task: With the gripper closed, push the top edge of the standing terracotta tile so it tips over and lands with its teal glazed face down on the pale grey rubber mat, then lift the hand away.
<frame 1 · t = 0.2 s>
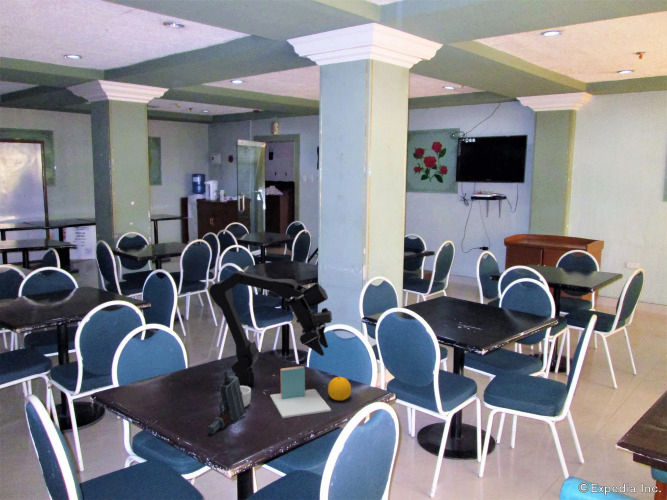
hand: (325, 351, 189), 14 cm above the table, tool tilted 30°, fingers open, 9 cm apart
teacup: (237, 407, 177), on the table
gun: (227, 425, 165), on the table
tile: (292, 396, 184), point 1 cm above the table, touching mat
orange: (339, 399, 184), on the table
mat: (299, 403, 180), on the table
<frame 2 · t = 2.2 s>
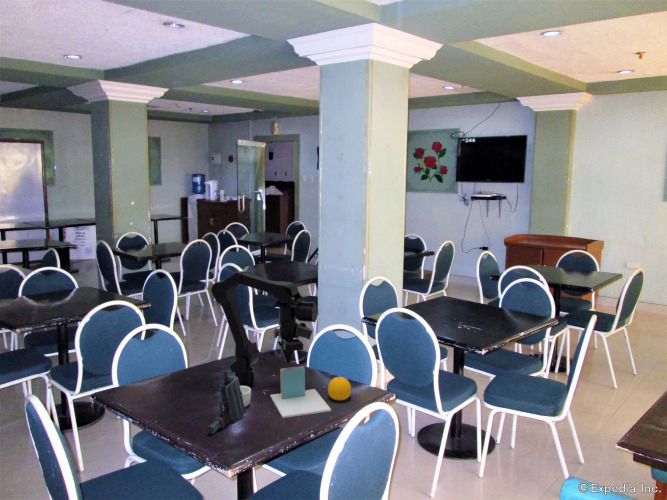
hand: (288, 363, 189), 10 cm above the table, tool pointing down, fingers closed
nothing on the table moved.
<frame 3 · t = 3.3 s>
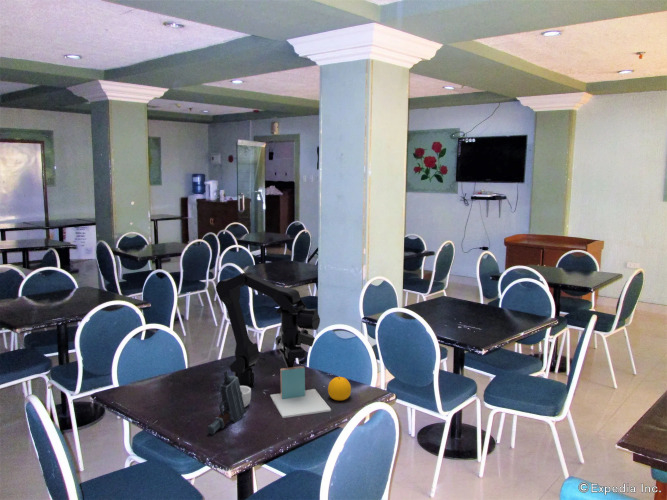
hand: (290, 370, 187), 9 cm above the table, tool pointing down, fingers closed
nothing on the table moved.
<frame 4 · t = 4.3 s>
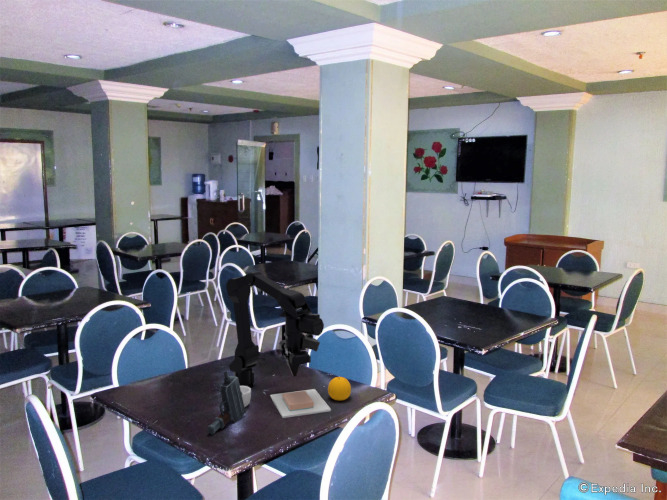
hand: (294, 376, 181), 9 cm above the table, tool pointing down, fingers closed
tile: (293, 395, 183), point 2 cm above the table, tilted 90°, touching mat
everything else where it was.
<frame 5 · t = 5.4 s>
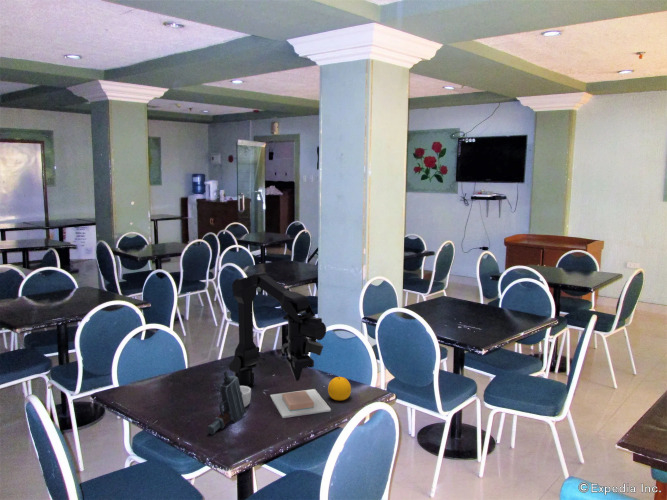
hand: (297, 380, 178), 9 cm above the table, tool pointing down, fingers closed
nothing on the table moved.
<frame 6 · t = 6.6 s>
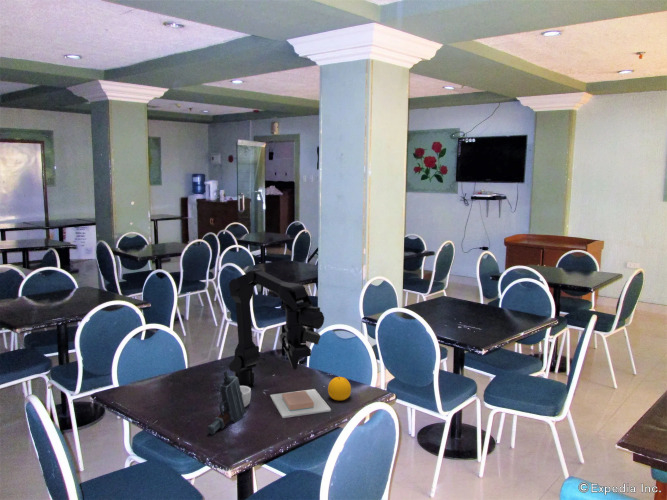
hand: (294, 369, 179), 12 cm above the table, tool pointing down, fingers closed
nothing on the table moved.
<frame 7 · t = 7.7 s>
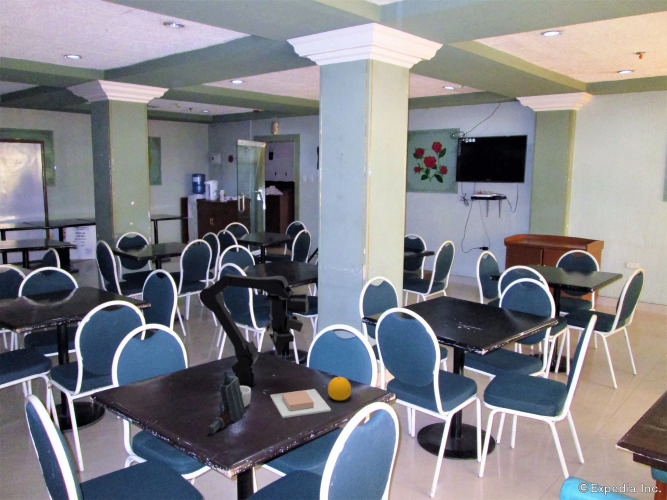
hand: (279, 355, 193), 12 cm above the table, tool pointing down, fingers closed
nothing on the table moved.
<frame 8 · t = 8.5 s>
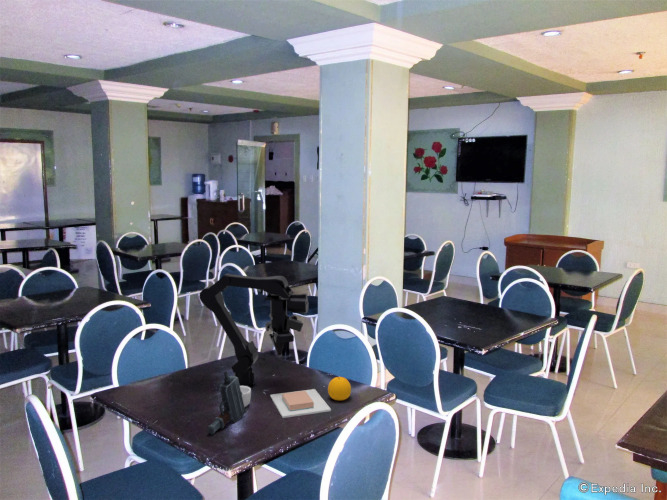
hand: (279, 355, 193), 12 cm above the table, tool pointing down, fingers closed
nothing on the table moved.
at the end: tile tilted 90°; tile inside the target area (0.2 cm from its centre), point 1.6 cm above the table; tile touching mat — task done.
